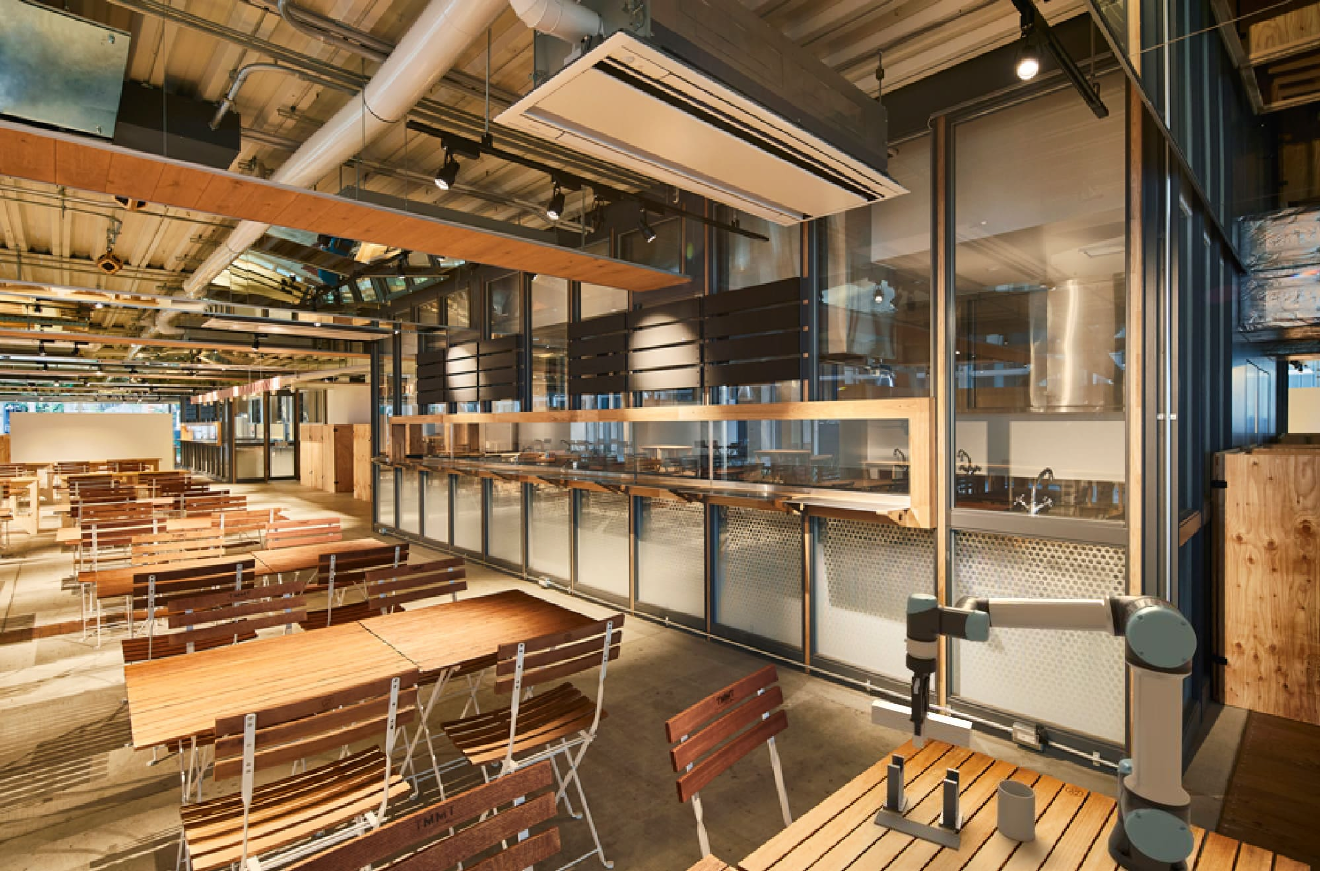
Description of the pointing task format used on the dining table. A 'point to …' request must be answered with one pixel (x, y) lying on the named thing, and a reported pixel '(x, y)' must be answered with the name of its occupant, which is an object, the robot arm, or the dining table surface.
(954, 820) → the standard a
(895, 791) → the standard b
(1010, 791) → the grey oval cup
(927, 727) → the rail
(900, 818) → the plank
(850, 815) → the dining table surface
